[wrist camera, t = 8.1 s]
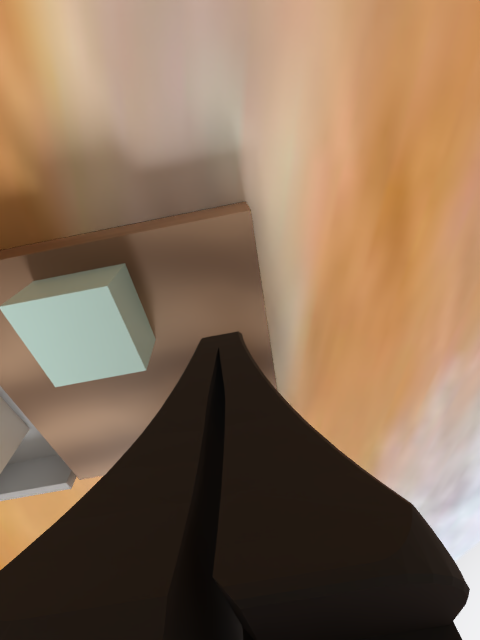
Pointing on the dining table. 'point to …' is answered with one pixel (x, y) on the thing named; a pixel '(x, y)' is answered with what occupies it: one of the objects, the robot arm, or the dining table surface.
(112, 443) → the board
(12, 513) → the dining table surface
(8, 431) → the tile
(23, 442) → the tray
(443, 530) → the dining table surface
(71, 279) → the grey-green block
